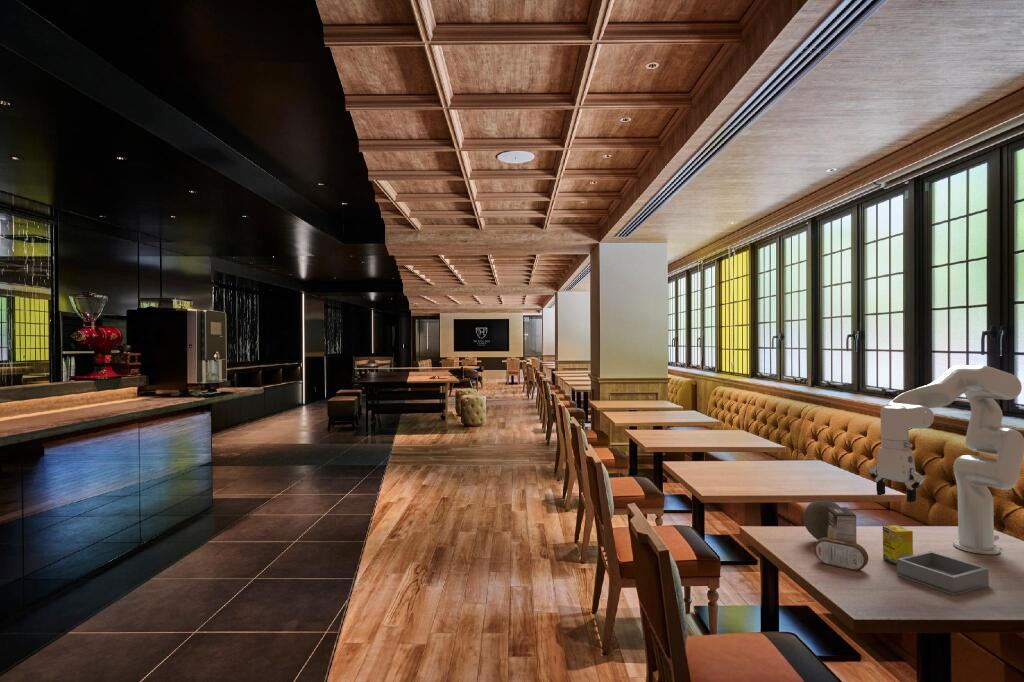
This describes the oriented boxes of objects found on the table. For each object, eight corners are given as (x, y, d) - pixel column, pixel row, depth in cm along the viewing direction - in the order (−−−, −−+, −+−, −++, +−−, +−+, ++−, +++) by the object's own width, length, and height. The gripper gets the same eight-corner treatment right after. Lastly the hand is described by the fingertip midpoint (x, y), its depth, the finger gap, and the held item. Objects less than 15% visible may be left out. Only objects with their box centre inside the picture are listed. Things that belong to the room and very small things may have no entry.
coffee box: (826, 554, 197) (826, 506, 197) (847, 555, 196) (846, 507, 196) (836, 564, 188) (835, 514, 188) (858, 565, 187) (857, 514, 187)
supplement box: (882, 559, 192) (881, 525, 192) (899, 558, 192) (899, 525, 193) (895, 566, 186) (895, 531, 186) (913, 565, 187) (913, 530, 187)
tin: (868, 571, 182) (868, 544, 182) (866, 574, 180) (865, 546, 180) (816, 560, 192) (815, 534, 192) (813, 562, 190) (812, 536, 190)
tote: (930, 567, 185) (930, 551, 185) (988, 585, 170) (988, 568, 170) (897, 575, 178) (896, 558, 179) (954, 595, 164) (954, 577, 164)
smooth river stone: (822, 535, 217) (821, 494, 217) (858, 546, 204) (858, 503, 204) (795, 540, 211) (794, 498, 211) (830, 553, 198) (829, 508, 198)
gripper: (930, 447, 183) (931, 503, 182) (876, 440, 199) (877, 490, 198) (915, 449, 180) (916, 506, 179) (861, 441, 195) (862, 493, 195)
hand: (895, 498), depth 189 cm, fingers open, 9 cm apart
